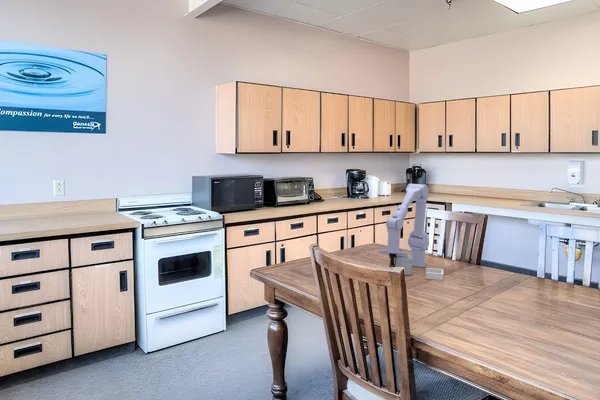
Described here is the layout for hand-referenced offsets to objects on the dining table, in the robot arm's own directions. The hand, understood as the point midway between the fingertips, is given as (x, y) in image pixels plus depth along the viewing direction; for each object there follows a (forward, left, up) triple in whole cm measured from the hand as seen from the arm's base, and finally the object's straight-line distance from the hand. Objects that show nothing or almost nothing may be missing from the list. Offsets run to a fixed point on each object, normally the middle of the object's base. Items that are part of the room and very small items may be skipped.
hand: (392, 268), depth 210 cm
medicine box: (0, +5, -3) cm, 6 cm away
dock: (-1, +20, -3) cm, 20 cm away
